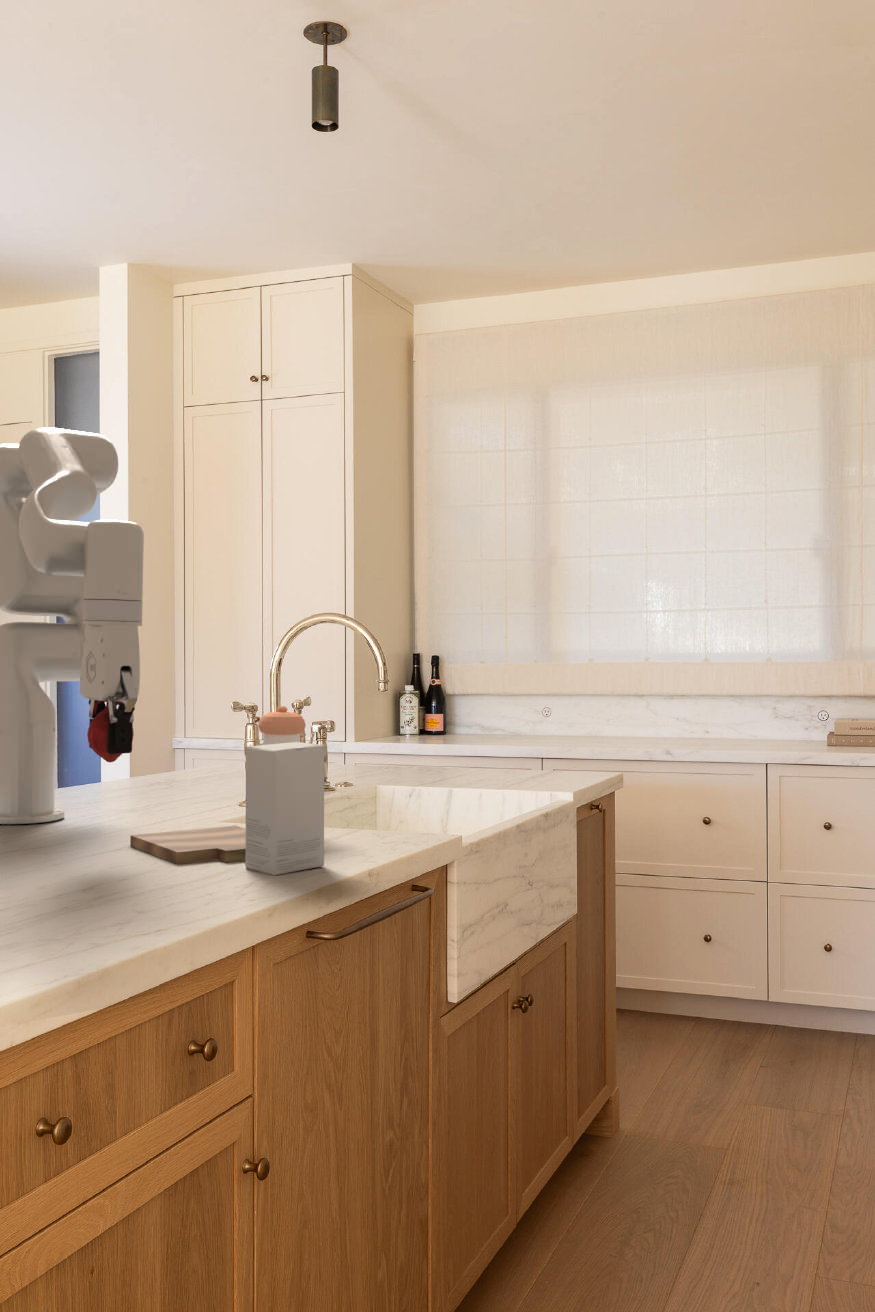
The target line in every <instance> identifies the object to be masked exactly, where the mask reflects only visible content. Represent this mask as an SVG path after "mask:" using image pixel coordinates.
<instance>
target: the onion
mask: <svg viewBox="0 0 875 1312" xmlns="http://www.w3.org/2000/svg"><path fill="white" fill-rule="evenodd" d="M117 709H118V705H116V711H117ZM107 723H111V722H110V714H109V705H107V707H106V708H105V709H104V710H103V711H101V712H100V713H99V714H98V715H97V716H96V717H95V718H94V719H93V720H92V722H91V724H90V723H89V724H90V726H88V729H87V734H86V736H87V742H88V745H89V744H90V746H91V748H92V749H91V748H90V749H91V750H92V751H93V752H94V753H95V754H96V755H98V756H99V757H100V758H102V759H103V760H104V761H105V762H107V763H113V762H115V761H116V760H117V759H118V758H120V757H121V756H122V755H123V754H124V753H121V754H109V753H107ZM134 735H135V734H134V729H133V730H132V742H133V740H134Z"/></svg>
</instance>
